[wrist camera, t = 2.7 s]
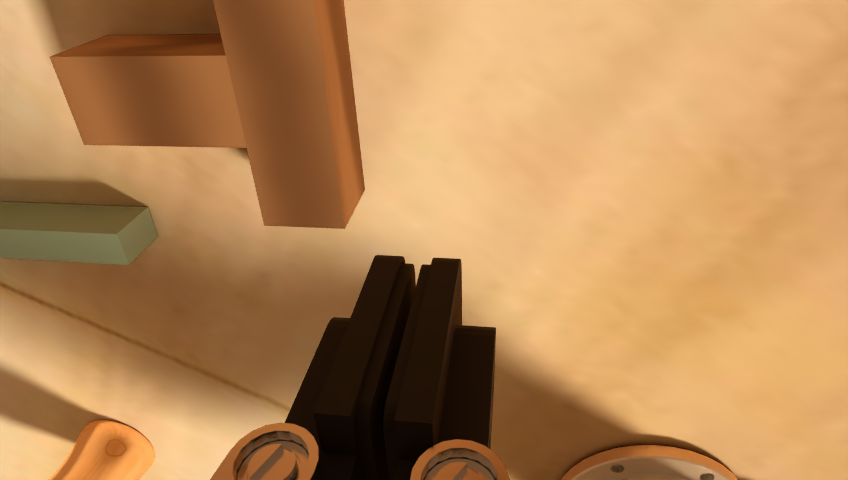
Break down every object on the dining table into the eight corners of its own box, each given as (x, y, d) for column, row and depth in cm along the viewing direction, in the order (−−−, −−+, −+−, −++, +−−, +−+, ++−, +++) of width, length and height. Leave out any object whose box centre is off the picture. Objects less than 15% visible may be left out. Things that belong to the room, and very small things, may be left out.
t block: (335, -69, 23) (304, -60, 20) (364, 189, 30) (344, 228, 26) (76, -58, 25) (8, -49, 22) (156, 183, 32) (113, 219, 28)
